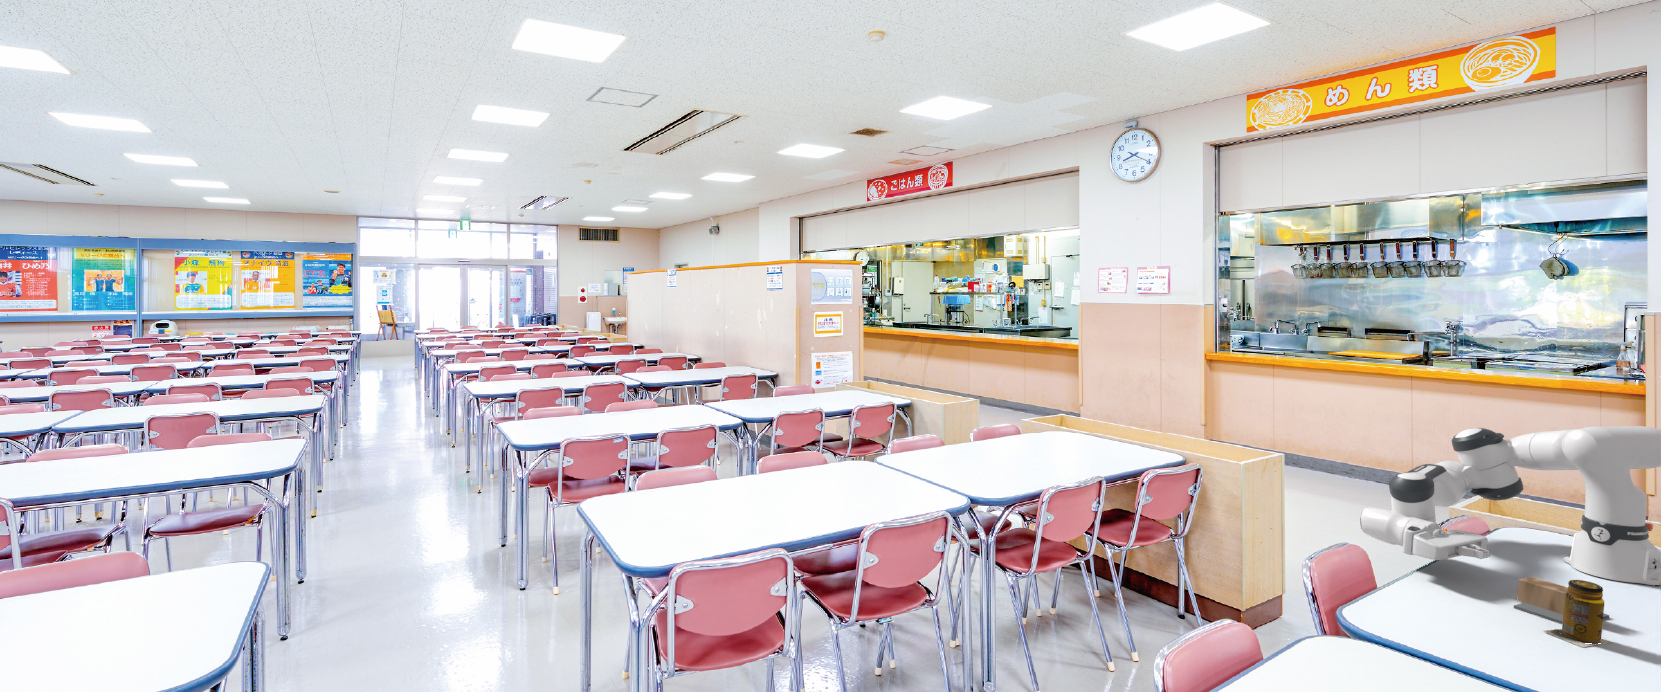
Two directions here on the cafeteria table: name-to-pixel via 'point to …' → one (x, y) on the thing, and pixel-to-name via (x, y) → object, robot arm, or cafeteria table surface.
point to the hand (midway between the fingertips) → (1486, 555)
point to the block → (1542, 594)
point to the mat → (1543, 612)
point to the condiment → (1582, 614)
